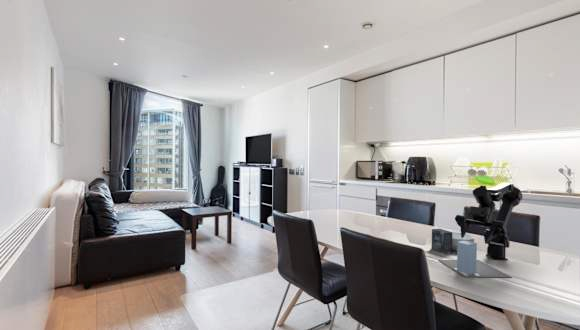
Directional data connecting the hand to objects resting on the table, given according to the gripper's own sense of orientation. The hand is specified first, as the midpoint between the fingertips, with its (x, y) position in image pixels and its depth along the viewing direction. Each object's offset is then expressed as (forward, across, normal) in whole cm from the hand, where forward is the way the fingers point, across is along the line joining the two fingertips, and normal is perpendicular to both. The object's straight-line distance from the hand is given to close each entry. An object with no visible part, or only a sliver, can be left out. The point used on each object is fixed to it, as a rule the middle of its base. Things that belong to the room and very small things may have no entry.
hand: (473, 239), depth 121 cm
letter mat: (+9, 0, +9) cm, 12 cm away
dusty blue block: (+13, 0, +4) cm, 14 cm away
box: (0, -20, +19) cm, 27 cm away
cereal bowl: (-8, -19, +27) cm, 34 cm away
